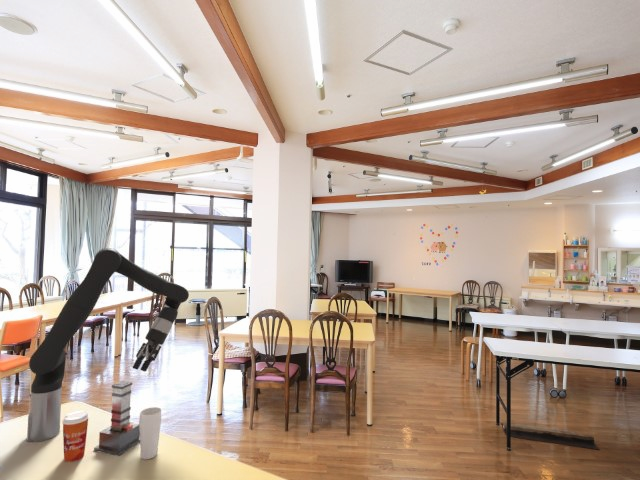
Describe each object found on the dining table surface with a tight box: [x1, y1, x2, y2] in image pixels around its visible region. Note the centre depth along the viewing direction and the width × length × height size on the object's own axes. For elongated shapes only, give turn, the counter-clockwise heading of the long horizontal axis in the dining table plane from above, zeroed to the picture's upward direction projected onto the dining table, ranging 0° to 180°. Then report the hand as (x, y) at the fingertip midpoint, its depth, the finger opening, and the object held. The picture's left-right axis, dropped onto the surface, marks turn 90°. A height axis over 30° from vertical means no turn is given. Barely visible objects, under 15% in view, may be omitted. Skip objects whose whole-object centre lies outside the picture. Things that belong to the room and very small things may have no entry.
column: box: [110, 380, 133, 433], centre depth 126 cm, size 5×5×16 cm
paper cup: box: [61, 410, 91, 463], centre depth 118 cm, size 8×8×14 cm
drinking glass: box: [138, 406, 162, 460], centre depth 120 cm, size 7×7×15 cm
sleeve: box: [93, 421, 140, 457], centre depth 126 cm, size 11×11×7 cm
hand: (138, 369), depth 138 cm, fingers open, 8 cm apart
